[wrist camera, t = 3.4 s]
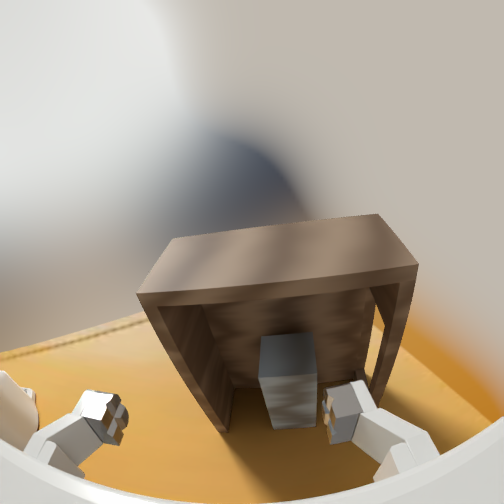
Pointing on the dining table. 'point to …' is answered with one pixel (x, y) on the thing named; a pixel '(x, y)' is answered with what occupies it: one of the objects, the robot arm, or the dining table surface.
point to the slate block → (289, 379)
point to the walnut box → (279, 302)
